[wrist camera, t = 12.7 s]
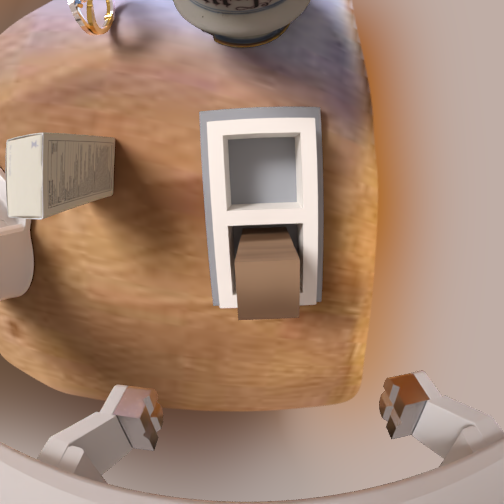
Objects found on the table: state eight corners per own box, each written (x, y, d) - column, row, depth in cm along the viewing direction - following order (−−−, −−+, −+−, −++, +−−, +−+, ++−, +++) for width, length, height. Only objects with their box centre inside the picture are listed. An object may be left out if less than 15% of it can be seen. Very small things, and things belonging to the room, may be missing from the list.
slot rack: (319, 297, 31) (329, 320, 26) (214, 301, 31) (207, 324, 27) (318, 109, 26) (329, 98, 21) (201, 113, 26) (189, 103, 21)
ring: (118, 41, 24) (82, 14, 16) (94, 46, 24) (55, 23, 16) (130, -7, 22) (101, -39, 14) (106, -1, 22) (74, -30, 14)
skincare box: (83, 139, 27) (5, 136, 15) (118, 137, 27) (43, 128, 15) (81, 197, 28) (4, 218, 17) (115, 197, 28) (42, 220, 17)
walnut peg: (242, 228, 28) (234, 262, 18) (286, 227, 28) (299, 259, 18) (245, 269, 29) (238, 319, 20) (286, 267, 29) (299, 317, 19)
